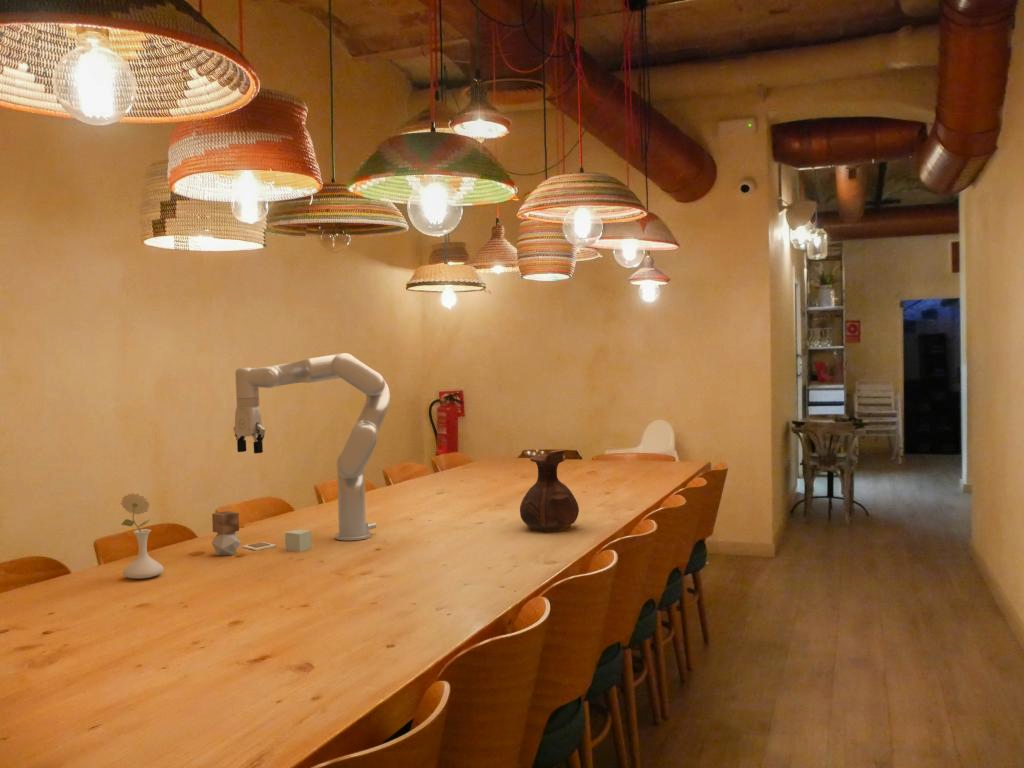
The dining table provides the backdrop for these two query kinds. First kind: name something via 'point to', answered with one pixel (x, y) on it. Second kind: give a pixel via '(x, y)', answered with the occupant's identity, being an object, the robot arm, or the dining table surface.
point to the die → (226, 543)
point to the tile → (259, 546)
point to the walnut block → (225, 522)
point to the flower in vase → (140, 540)
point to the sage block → (298, 540)
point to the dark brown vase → (549, 497)
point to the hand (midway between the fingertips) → (250, 452)
